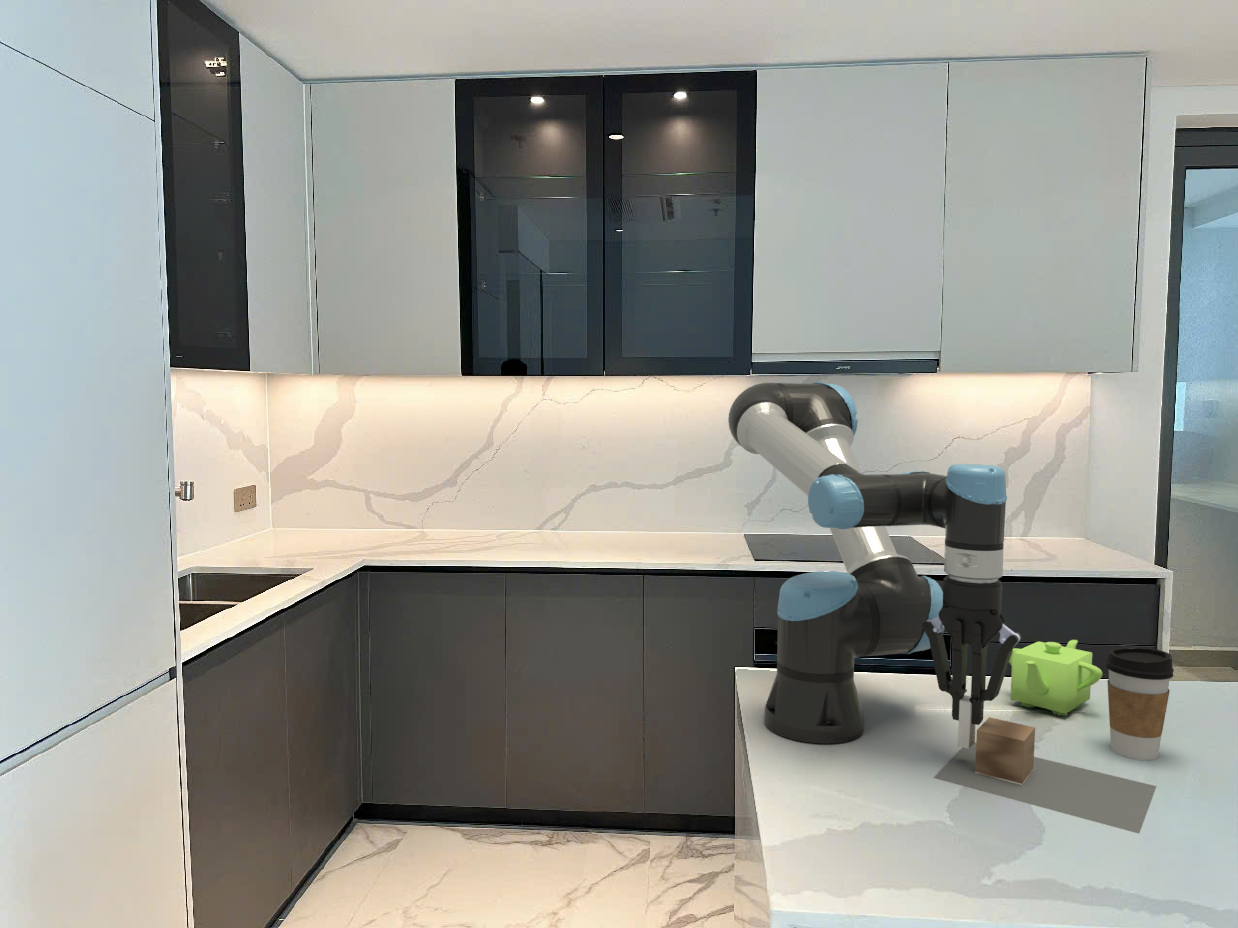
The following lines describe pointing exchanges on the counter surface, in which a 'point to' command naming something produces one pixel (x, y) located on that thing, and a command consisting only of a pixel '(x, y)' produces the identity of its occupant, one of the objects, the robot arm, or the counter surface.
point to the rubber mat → (1061, 790)
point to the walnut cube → (1005, 750)
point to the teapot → (1052, 676)
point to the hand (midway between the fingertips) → (966, 744)
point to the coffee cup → (1137, 700)
